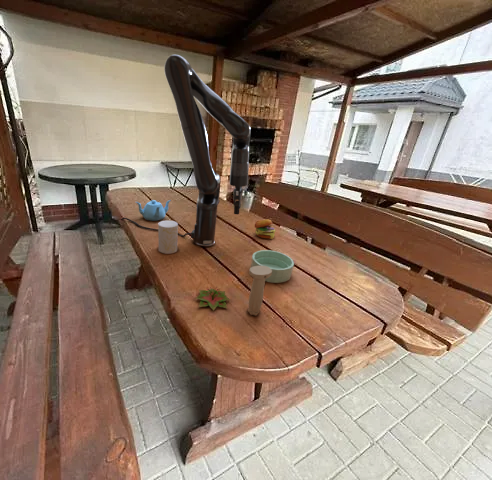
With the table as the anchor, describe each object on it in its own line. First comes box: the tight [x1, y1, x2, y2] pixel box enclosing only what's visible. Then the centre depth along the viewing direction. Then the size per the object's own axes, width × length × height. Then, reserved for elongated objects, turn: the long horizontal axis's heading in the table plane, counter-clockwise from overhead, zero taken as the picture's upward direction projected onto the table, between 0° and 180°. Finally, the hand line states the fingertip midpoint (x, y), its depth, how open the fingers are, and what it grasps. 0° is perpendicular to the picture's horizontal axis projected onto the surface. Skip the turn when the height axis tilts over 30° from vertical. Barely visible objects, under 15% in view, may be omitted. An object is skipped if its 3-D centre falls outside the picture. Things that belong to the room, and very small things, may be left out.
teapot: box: [135, 199, 172, 222], centre depth 148 cm, size 15×15×10 cm
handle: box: [247, 266, 272, 316], centre depth 77 cm, size 5×6×15 cm
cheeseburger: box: [254, 218, 276, 240], centre depth 136 cm, size 10×11×10 cm
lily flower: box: [195, 286, 231, 312], centre depth 83 cm, size 12×12×5 cm
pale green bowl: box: [250, 249, 295, 284], centre depth 101 cm, size 16×16×6 cm
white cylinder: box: [157, 220, 179, 255], centre depth 112 cm, size 8×8×12 cm
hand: (237, 211), depth 115 cm, fingers open, 8 cm apart
